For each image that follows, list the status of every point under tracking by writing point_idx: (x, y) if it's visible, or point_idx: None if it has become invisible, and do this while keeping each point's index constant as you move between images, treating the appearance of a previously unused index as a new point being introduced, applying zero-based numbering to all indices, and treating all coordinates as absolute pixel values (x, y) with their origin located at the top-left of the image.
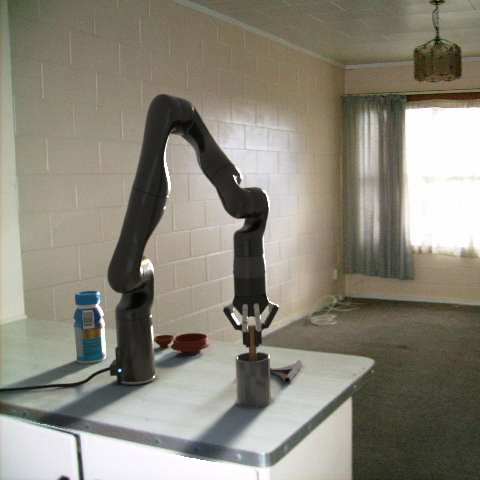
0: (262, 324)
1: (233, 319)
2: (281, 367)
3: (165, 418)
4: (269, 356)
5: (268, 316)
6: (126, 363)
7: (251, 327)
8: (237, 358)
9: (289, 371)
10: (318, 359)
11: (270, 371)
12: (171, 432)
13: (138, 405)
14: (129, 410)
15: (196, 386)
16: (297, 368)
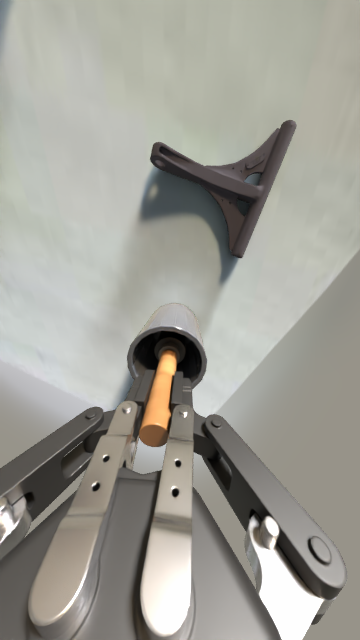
0: (197, 452)
1: (61, 487)
2: (239, 162)
3: (63, 358)
4: (205, 368)
5: (232, 498)
6: None
7: (153, 443)
8: (132, 367)
9: (251, 200)
10: (349, 71)
11: (211, 192)
12: (82, 395)
13: (8, 308)
14: (4, 324)
15: (73, 237)
16: (272, 184)
